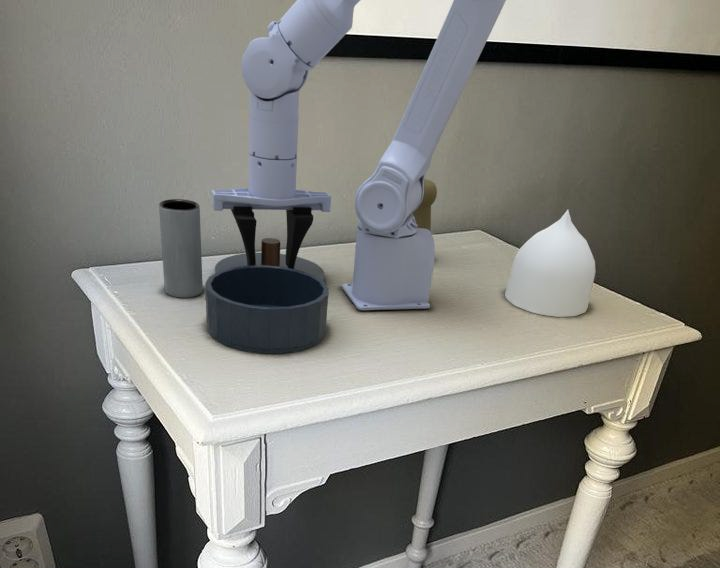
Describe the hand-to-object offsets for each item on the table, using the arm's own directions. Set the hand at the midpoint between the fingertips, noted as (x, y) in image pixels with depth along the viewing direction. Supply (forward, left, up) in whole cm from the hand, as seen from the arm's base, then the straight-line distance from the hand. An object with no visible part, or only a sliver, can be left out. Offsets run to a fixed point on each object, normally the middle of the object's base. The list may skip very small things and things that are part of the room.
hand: (270, 266), depth 95 cm
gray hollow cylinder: (+12, +4, -2) cm, 12 cm away
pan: (+4, +16, -2) cm, 16 cm away
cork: (-22, -8, -2) cm, 24 cm away
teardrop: (-36, +10, -2) cm, 37 cm away
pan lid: (0, 0, -1) cm, 1 cm away
